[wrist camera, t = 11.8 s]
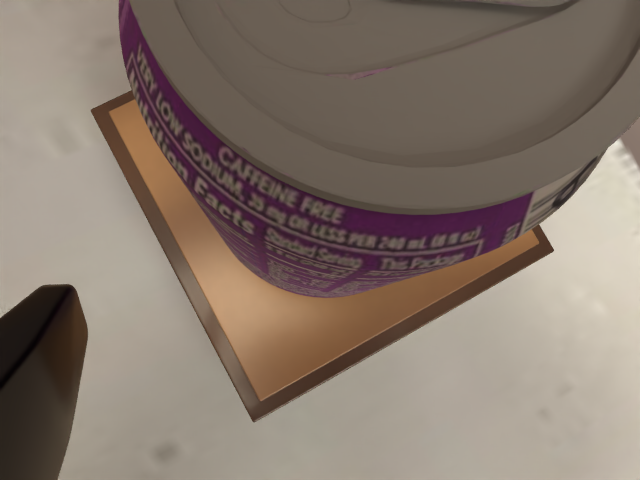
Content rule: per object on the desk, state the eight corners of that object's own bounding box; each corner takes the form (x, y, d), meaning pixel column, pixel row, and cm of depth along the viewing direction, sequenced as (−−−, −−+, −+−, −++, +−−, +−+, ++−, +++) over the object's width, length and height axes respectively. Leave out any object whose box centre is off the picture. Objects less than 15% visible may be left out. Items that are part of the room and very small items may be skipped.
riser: (521, 258, 21) (561, 249, 18) (256, 409, 20) (252, 425, 17) (376, 8, 22) (391, -40, 19) (113, 135, 21) (85, 104, 18)
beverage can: (425, 72, 18) (690, -365, 7) (446, 291, 18) (796, 237, 6) (204, 79, 18) (61, -387, 6) (214, 305, 17) (66, 279, 5)
